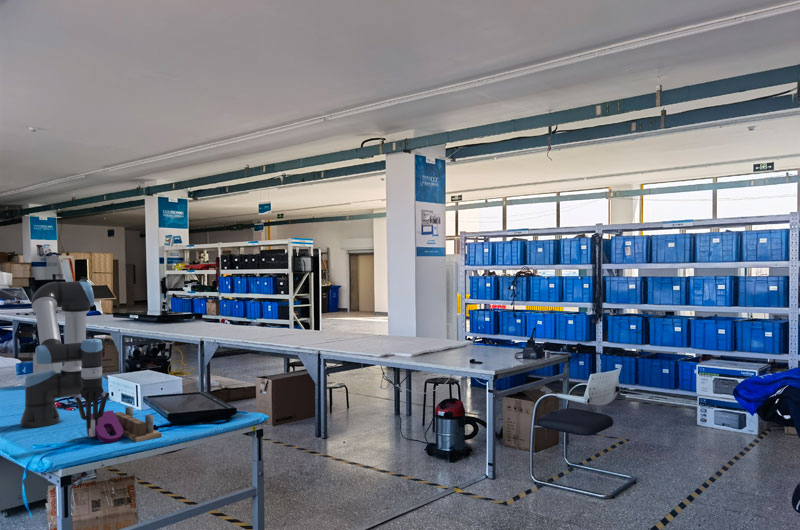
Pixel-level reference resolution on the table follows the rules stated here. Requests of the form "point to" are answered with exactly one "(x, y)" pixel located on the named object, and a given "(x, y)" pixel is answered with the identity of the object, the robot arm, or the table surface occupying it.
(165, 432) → the table surface
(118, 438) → the mounting bracket
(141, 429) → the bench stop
